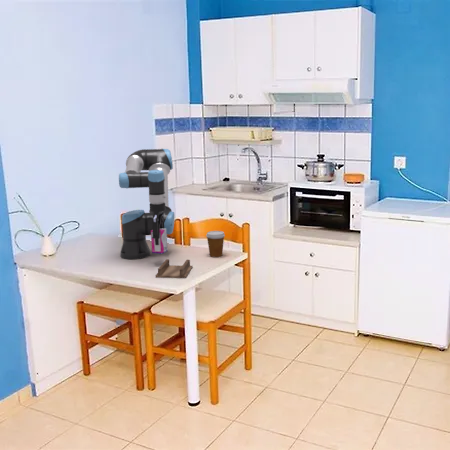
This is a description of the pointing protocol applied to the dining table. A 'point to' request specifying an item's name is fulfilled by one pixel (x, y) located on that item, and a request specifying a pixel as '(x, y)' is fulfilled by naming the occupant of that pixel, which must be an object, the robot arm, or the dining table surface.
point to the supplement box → (162, 240)
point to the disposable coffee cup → (215, 243)
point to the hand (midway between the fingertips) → (159, 248)
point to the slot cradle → (174, 270)
